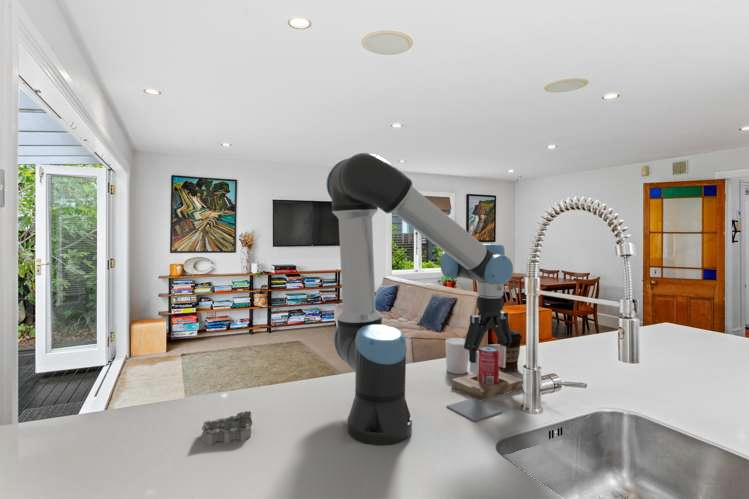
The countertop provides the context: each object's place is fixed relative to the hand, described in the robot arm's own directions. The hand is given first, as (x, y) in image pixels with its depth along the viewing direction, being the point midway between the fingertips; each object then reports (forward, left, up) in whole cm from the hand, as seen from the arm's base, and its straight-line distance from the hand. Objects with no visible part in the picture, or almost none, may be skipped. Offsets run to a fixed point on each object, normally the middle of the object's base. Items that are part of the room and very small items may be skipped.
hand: (487, 369), depth 127 cm
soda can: (0, 0, -6) cm, 6 cm away
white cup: (+3, +16, -6) cm, 17 cm away
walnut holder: (0, 0, -5) cm, 5 cm away
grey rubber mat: (-15, -9, -5) cm, 18 cm away
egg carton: (-73, +10, -6) cm, 74 cm away
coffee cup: (+19, +8, -6) cm, 21 cm away
